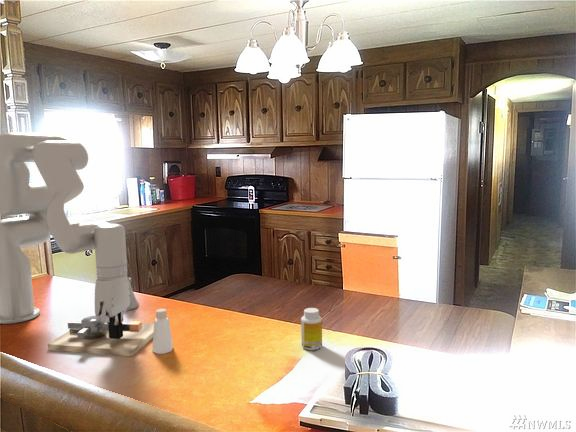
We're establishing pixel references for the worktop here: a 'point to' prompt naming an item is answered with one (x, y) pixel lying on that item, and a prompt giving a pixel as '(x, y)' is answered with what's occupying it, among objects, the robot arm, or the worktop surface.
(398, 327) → the worktop surface
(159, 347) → the pepper shaker
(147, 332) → the wooden flat board
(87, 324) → the capstan
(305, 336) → the supplement bottle
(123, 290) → the robot arm
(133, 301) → the flask
